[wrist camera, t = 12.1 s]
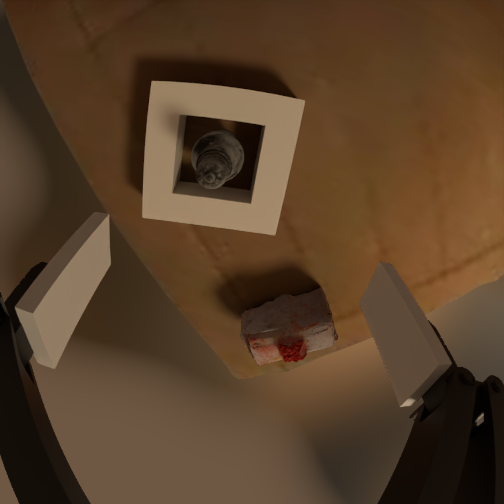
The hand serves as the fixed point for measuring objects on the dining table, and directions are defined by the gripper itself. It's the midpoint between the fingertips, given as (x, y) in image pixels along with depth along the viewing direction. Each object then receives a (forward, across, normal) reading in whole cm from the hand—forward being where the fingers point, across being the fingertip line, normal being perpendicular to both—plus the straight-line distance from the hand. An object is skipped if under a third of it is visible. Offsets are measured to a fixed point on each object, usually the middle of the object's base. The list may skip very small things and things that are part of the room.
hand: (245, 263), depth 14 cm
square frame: (+25, -3, -1) cm, 25 cm away
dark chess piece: (+25, -3, -1) cm, 25 cm away
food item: (+25, +12, -23) cm, 36 cm away
